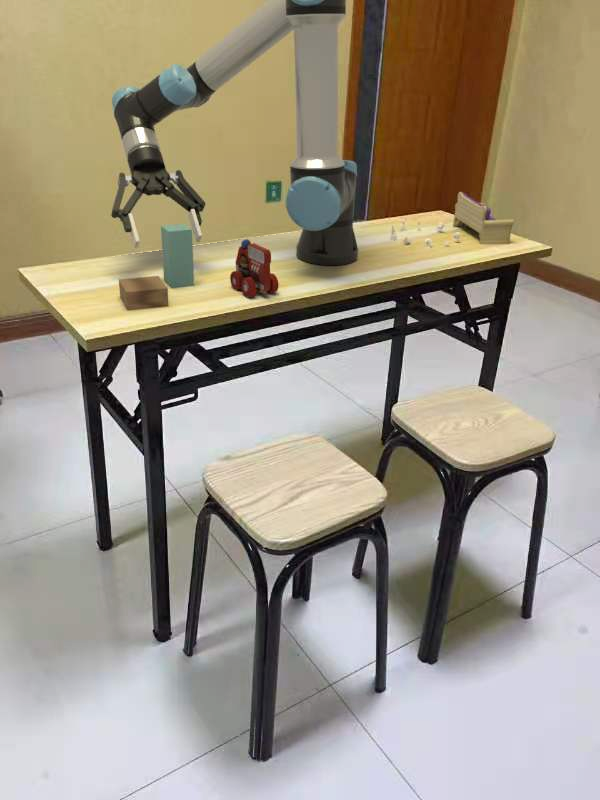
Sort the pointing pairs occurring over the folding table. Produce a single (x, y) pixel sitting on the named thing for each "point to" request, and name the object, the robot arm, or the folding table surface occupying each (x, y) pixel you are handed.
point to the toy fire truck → (253, 270)
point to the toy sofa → (481, 221)
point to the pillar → (177, 255)
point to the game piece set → (428, 240)
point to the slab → (143, 293)
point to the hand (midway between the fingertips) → (168, 241)
